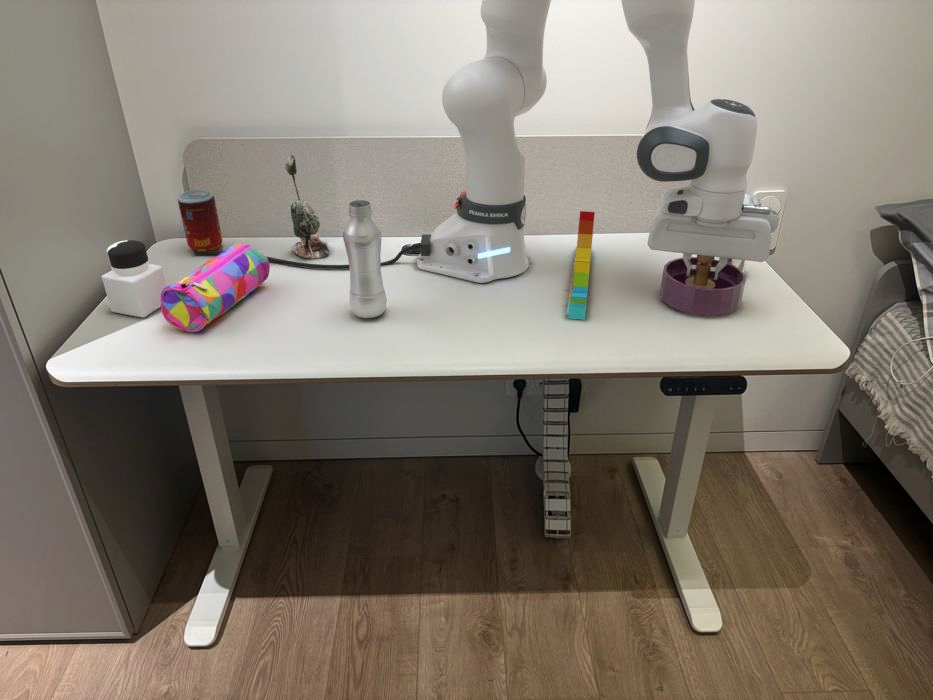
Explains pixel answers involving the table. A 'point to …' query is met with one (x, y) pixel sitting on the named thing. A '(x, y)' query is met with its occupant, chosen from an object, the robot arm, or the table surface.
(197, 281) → the pencil case
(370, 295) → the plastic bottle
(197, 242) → the soda can
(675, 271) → the bowl
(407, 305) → the table surface
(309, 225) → the plant with pod
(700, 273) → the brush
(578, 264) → the chart
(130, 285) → the medicine bottle
